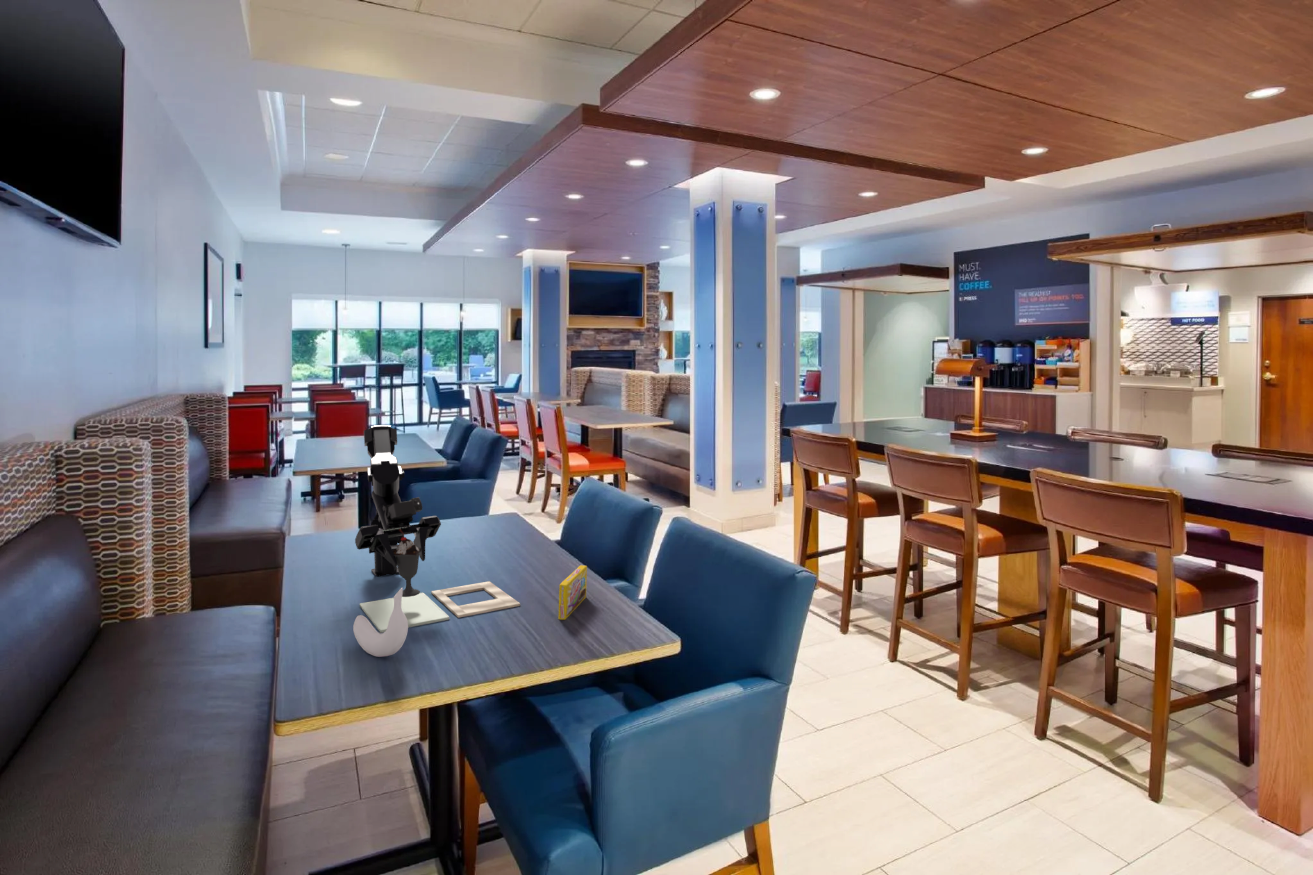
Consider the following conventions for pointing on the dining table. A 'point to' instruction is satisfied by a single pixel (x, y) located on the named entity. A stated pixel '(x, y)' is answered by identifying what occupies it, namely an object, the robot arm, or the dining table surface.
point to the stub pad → (404, 611)
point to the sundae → (407, 563)
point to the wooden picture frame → (498, 603)
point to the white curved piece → (390, 638)
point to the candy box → (572, 592)
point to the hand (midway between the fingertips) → (410, 562)
